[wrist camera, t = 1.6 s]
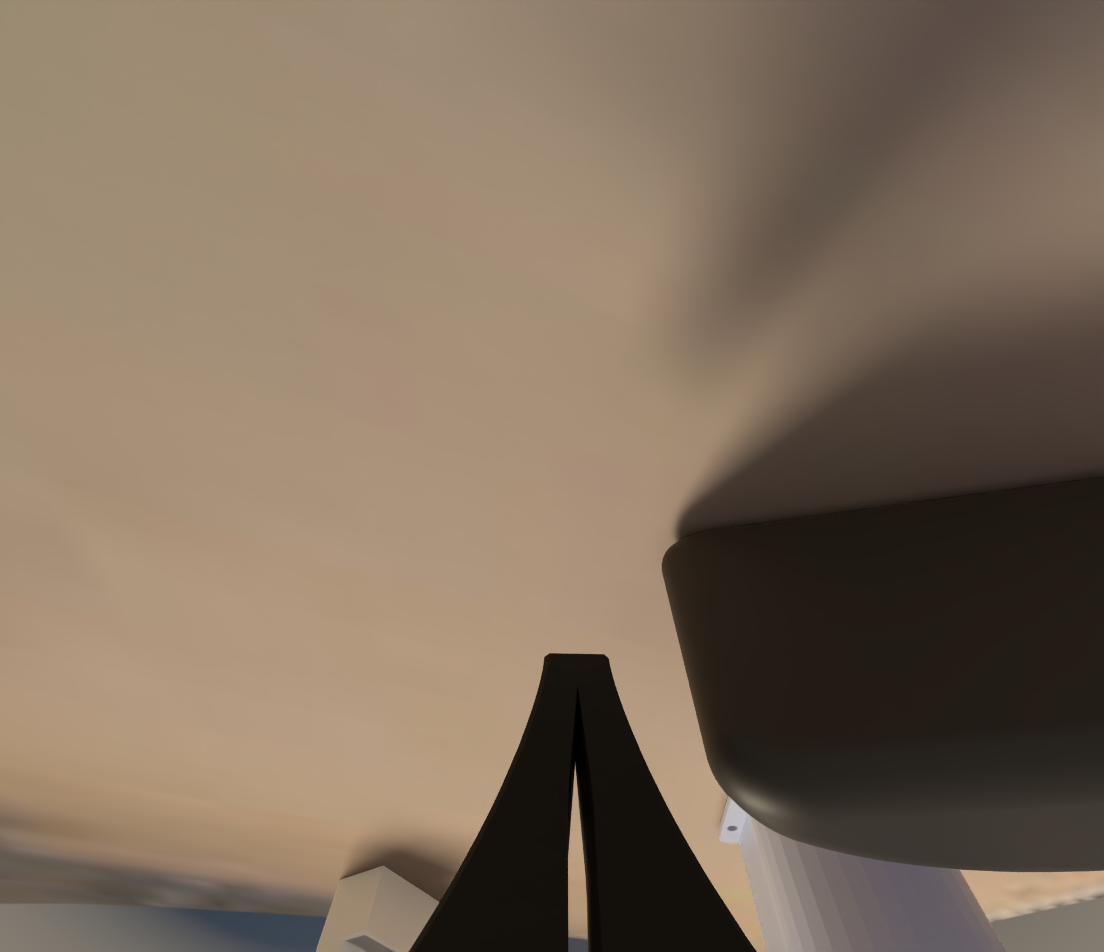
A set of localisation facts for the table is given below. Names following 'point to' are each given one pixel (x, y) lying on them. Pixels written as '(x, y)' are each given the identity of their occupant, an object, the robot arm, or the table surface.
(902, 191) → the table surface
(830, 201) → the table surface
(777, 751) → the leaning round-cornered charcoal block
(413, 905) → the white wedge bracket
